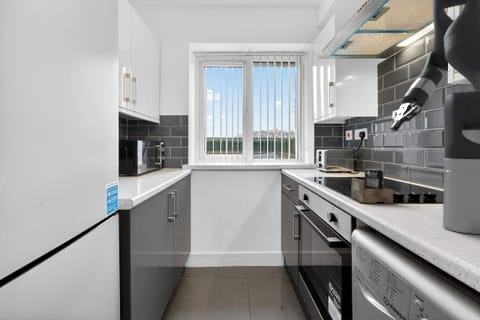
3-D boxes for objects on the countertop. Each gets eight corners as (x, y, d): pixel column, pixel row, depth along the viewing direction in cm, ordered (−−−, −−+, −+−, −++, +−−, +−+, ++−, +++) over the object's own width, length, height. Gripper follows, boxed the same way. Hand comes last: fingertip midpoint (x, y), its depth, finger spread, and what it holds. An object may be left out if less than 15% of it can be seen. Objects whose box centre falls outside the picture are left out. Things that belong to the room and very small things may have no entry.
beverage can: (376, 199, 120) (376, 168, 120) (386, 201, 114) (387, 169, 113) (360, 199, 119) (361, 168, 118) (370, 202, 112) (371, 169, 112)
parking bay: (378, 197, 122) (378, 178, 122) (392, 203, 110) (393, 181, 110) (350, 197, 123) (351, 177, 122) (361, 203, 111) (362, 181, 110)
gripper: (399, 90, 119) (374, 125, 117) (426, 82, 106) (398, 121, 104) (412, 103, 120) (388, 137, 119) (440, 96, 107) (413, 135, 106)
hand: (393, 129), depth 111 cm, fingers closed
